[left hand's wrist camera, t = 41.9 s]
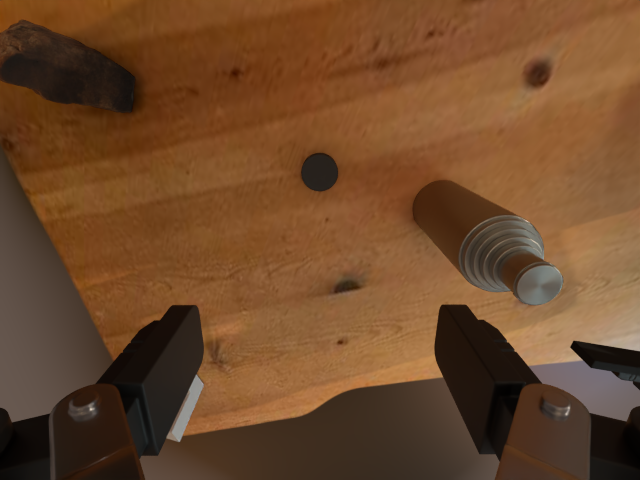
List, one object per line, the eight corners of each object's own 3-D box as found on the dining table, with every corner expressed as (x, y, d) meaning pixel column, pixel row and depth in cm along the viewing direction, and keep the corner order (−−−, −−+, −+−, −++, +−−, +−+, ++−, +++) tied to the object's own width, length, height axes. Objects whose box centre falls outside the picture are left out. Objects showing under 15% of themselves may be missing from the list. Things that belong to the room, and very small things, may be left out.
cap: (343, 177, 43) (344, 180, 42) (313, 194, 44) (313, 197, 42) (326, 146, 42) (326, 147, 40) (295, 164, 43) (294, 166, 41)
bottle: (417, 238, 46) (494, 337, 26) (408, 188, 44) (484, 253, 24) (470, 225, 45) (591, 315, 25) (463, 173, 43) (591, 227, 23)
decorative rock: (30, 72, 39) (-71, 57, 29) (41, 16, 37) (-63, -20, 27) (134, 122, 41) (73, 125, 31) (150, 71, 39) (90, 57, 29)
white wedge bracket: (223, 387, 51) (179, 442, 45) (186, 382, 57) (142, 430, 51) (210, 369, 50) (163, 422, 44) (174, 366, 56) (127, 413, 50)
